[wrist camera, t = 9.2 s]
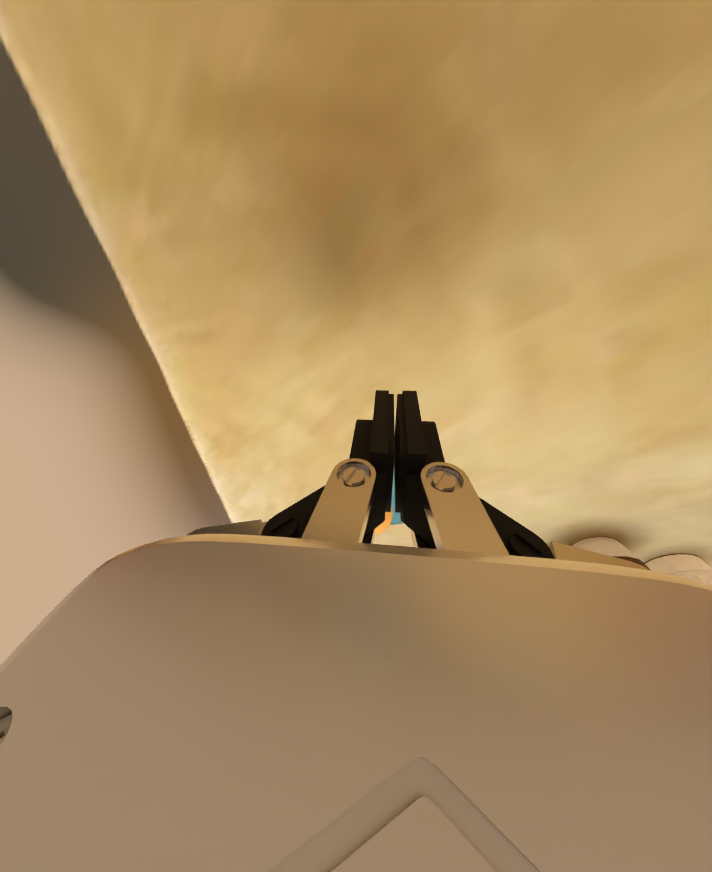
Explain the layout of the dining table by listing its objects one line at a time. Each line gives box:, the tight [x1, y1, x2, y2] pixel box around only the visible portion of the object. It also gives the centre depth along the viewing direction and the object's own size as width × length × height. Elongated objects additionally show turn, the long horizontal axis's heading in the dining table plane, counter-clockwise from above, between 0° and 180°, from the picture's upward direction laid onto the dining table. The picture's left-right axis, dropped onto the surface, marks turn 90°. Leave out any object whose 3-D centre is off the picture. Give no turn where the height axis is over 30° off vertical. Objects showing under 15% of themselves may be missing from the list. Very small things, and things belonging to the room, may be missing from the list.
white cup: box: [645, 554, 712, 586], centre depth 34 cm, size 8×8×10 cm
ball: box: [375, 506, 393, 534], centre depth 33 cm, size 6×6×6 cm
